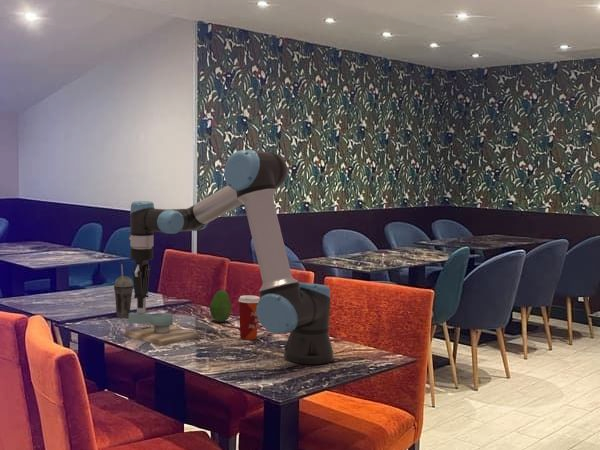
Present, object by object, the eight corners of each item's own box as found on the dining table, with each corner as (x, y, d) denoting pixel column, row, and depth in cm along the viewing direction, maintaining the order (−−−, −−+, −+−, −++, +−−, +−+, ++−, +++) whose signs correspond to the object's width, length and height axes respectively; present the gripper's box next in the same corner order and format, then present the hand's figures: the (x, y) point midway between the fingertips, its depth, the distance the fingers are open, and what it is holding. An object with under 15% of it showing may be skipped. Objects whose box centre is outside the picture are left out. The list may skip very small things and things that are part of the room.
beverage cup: (137, 316, 260) (138, 264, 259) (122, 319, 254) (123, 265, 253) (123, 314, 264) (124, 262, 263) (108, 316, 258) (109, 263, 256)
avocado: (231, 319, 262) (232, 288, 261) (230, 324, 254) (231, 292, 253) (210, 319, 261) (211, 287, 260) (208, 323, 254) (209, 291, 253)
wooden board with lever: (197, 337, 232) (198, 325, 232) (161, 345, 219) (161, 333, 219) (161, 328, 243) (162, 317, 243) (125, 335, 230) (125, 323, 230)
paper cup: (256, 341, 230) (257, 299, 229) (234, 339, 231) (235, 298, 230) (262, 336, 237) (263, 295, 236) (240, 334, 239) (242, 294, 238)
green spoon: (174, 322, 234) (175, 313, 234) (169, 326, 227) (169, 317, 227) (132, 319, 235) (133, 311, 235) (126, 324, 228) (126, 315, 228)
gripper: (136, 244, 237) (136, 312, 240) (124, 249, 224) (124, 320, 227) (158, 245, 237) (157, 313, 239) (147, 250, 224) (146, 321, 226)
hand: (141, 316), depth 233 cm, fingers closed
